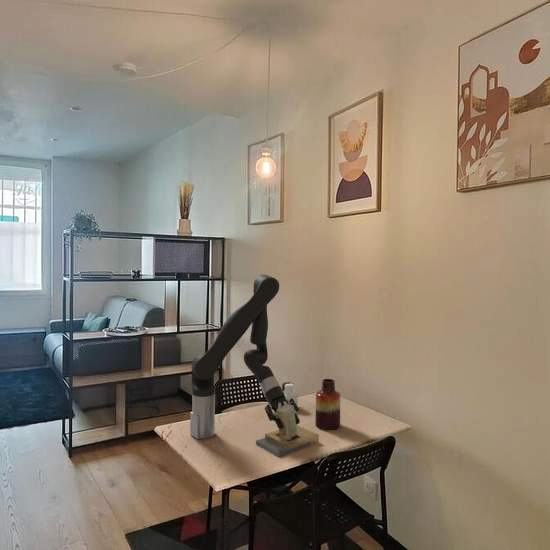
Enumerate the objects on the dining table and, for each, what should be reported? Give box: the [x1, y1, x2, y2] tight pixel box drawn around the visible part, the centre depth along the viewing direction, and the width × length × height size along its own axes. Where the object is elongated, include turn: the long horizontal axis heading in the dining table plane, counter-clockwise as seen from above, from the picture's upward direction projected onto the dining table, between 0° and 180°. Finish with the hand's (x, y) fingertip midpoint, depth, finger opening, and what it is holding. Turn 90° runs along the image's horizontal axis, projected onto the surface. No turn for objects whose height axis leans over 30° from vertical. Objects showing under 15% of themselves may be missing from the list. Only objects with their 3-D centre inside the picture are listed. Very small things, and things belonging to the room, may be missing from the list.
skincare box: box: [276, 404, 297, 441], centre depth 176 cm, size 6×4×12 cm
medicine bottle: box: [281, 381, 299, 406], centre depth 219 cm, size 7×7×12 cm
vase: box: [314, 378, 342, 432], centre depth 195 cm, size 11×11×20 cm
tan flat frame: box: [255, 424, 320, 458], centre depth 177 cm, size 21×14×3 cm, turn 129°
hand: (290, 426), depth 175 cm, fingers open, 8 cm apart
